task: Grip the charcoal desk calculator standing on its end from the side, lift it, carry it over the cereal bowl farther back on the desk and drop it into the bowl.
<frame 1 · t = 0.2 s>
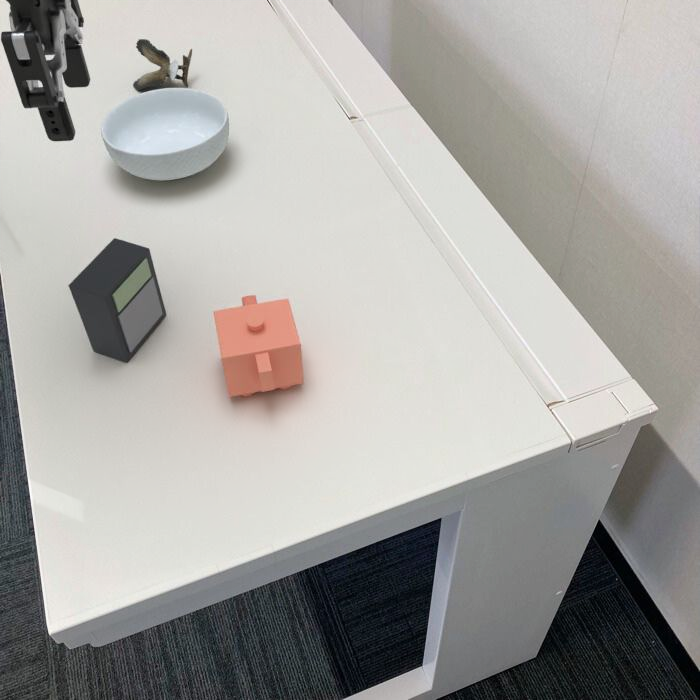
hand: (71, 111, 68), 26 cm above the table, tool pointing down, fingers open, 8 cm apart
pink cube teapot: (261, 369, 83), on the table
cereal bowl: (173, 164, 109), on the table
eagle figurine: (163, 85, 123), on the table
calculator: (130, 332, 87), on the table
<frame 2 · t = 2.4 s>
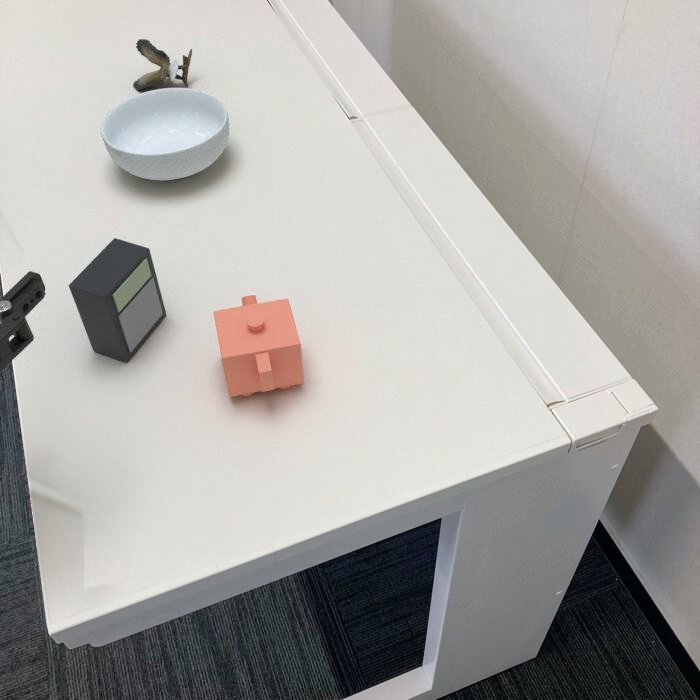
nothing on the table moved.
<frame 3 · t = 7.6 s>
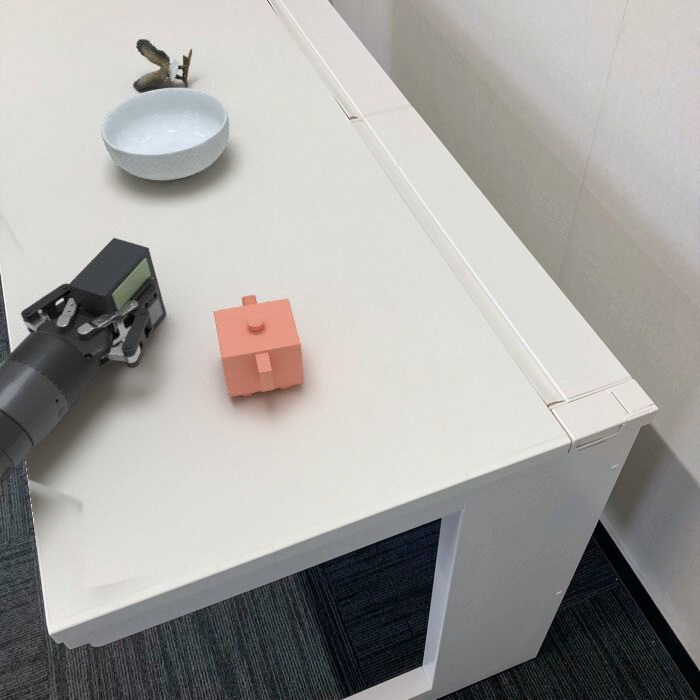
hand: (132, 278, 84), 6 cm above the table, tool horizontal, fingers closed on calculator, 4 cm apart
calculator: (130, 332, 87), on the table, touching gripper
everything else where it was.
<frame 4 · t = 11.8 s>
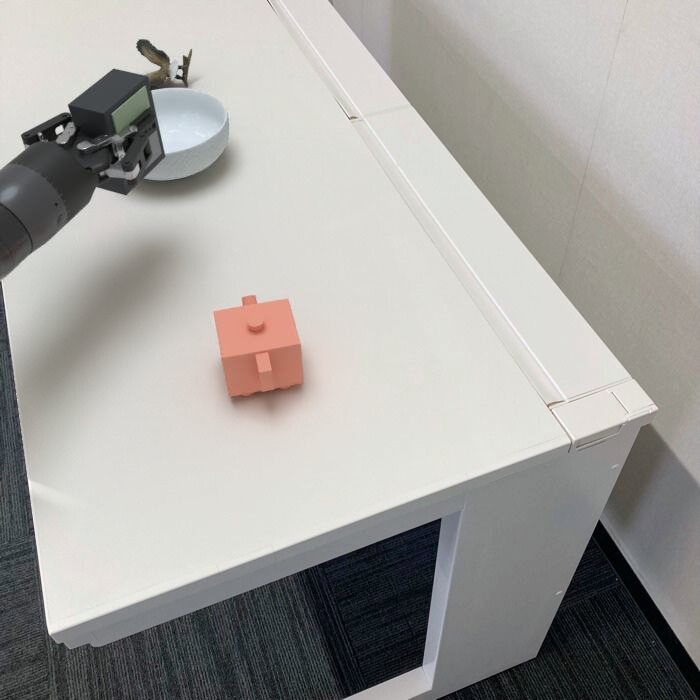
hand: (132, 111, 84), 18 cm above the table, tool horizontal, fingers closed on calculator, 4 cm apart
calculator: (130, 171, 87), point 12 cm above the table, touching gripper
everything else where it was.
when the fingers open (13 cm above the table, at t = 16.2 s): calculator stays where it is, resting on cereal bowl.
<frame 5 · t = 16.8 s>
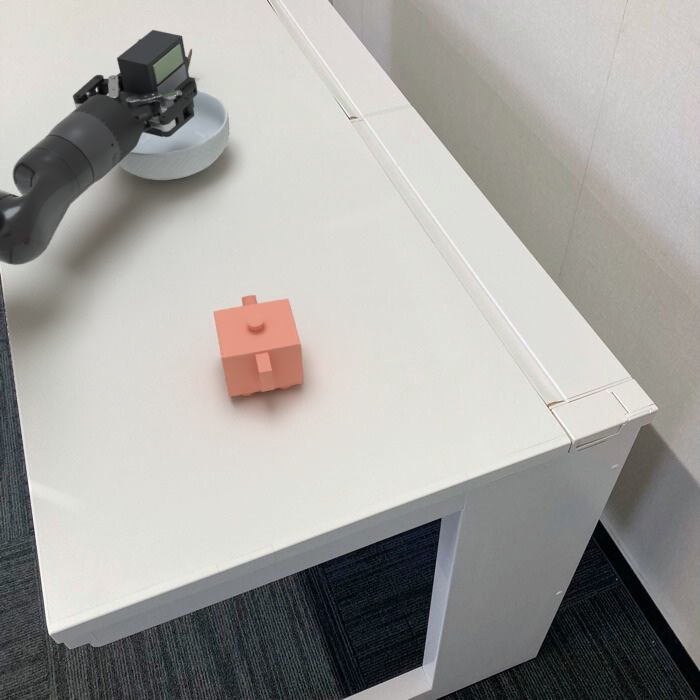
hand: (165, 77, 101), 12 cm above the table, tool horizontal, fingers open, 8 cm apart
cereal bowl: (174, 164, 109), on the table, touching calculator
calculator: (164, 118, 103), point 7 cm above the table, touching cereal bowl
everything else where it was.
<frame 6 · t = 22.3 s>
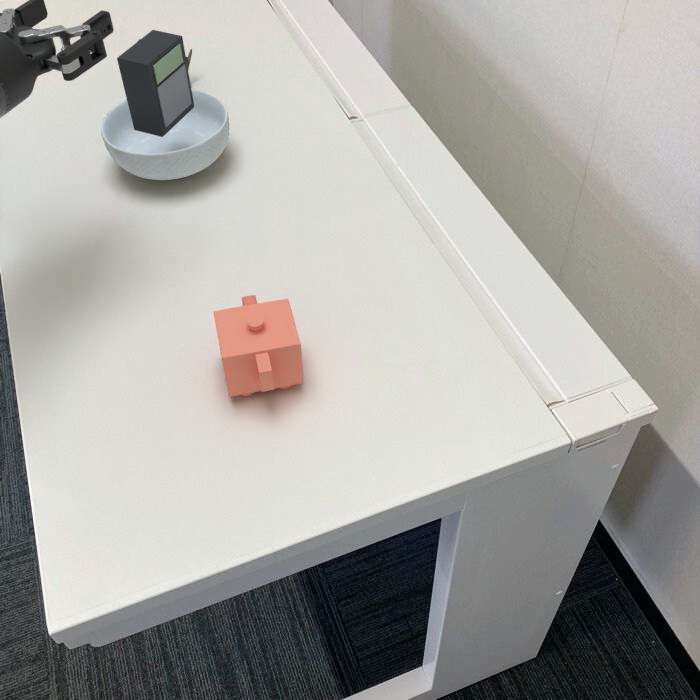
hand: (75, 12, 82), 26 cm above the table, tool horizontal, fingers open, 8 cm apart
nothing on the table moved.
at the end: calculator inside the target area in the cereal bowl (0.1 cm from its centre), point 7.3 cm above the cereal bowl's base; the gripper is holding nothing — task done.
